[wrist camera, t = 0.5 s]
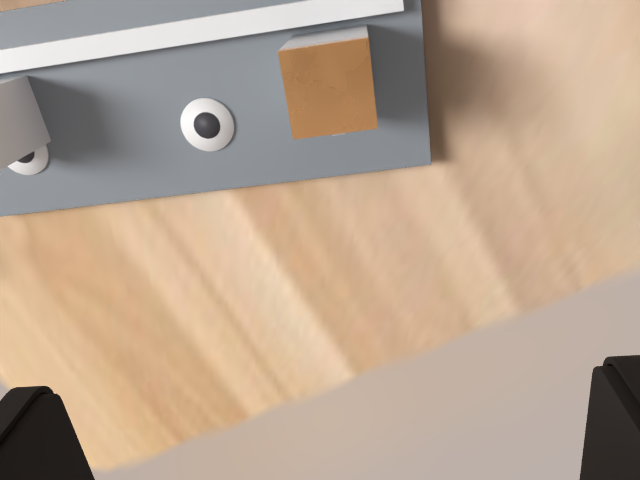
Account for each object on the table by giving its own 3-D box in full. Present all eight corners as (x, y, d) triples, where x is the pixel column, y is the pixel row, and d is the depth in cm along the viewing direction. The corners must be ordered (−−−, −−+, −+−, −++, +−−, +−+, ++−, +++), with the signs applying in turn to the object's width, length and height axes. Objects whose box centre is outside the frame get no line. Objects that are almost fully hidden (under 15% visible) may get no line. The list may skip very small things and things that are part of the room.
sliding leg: (293, 34, 30) (277, 51, 24) (366, 23, 29) (368, 37, 23) (307, 120, 32) (295, 155, 26) (375, 111, 31) (379, 145, 26)
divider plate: (-90, 27, 33) (-206, 43, 26) (414, -58, 29) (431, -66, 22) (-8, 210, 38) (-87, 262, 31) (428, 156, 34) (445, 202, 28)
